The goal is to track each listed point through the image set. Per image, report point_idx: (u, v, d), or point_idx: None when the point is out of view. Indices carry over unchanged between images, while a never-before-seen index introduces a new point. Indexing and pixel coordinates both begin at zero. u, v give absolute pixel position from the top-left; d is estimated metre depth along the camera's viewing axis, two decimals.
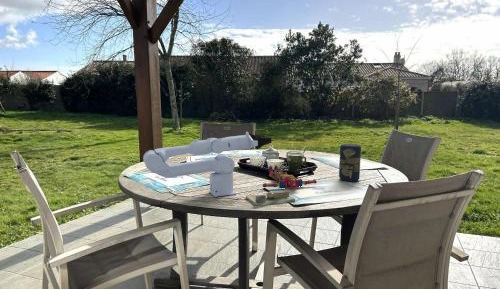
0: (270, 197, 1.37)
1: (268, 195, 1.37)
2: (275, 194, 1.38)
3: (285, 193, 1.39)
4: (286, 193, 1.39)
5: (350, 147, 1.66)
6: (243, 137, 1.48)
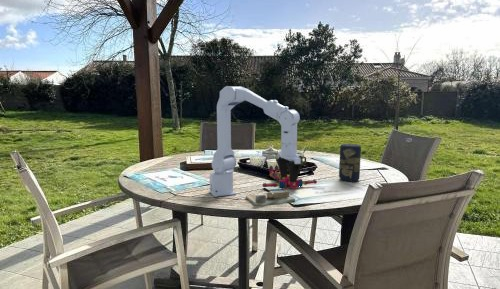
0: (270, 197, 1.37)
1: (268, 195, 1.37)
2: (275, 194, 1.38)
3: (285, 193, 1.39)
4: (286, 193, 1.39)
5: (350, 147, 1.66)
6: (296, 149, 1.32)
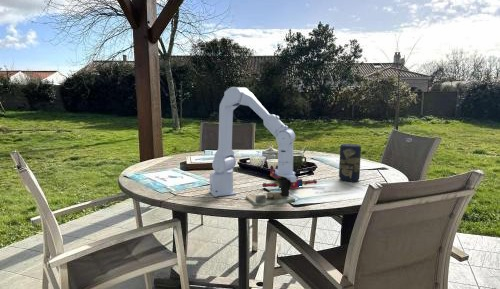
0: (270, 197, 1.37)
1: (268, 195, 1.37)
2: (275, 194, 1.38)
3: None
4: None
5: (350, 147, 1.66)
6: (292, 167, 1.36)
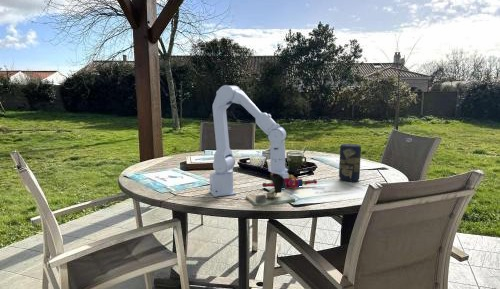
0: (273, 197, 1.37)
1: (271, 195, 1.37)
2: (273, 193, 1.40)
3: None
4: None
5: (350, 147, 1.66)
6: (284, 164, 1.40)
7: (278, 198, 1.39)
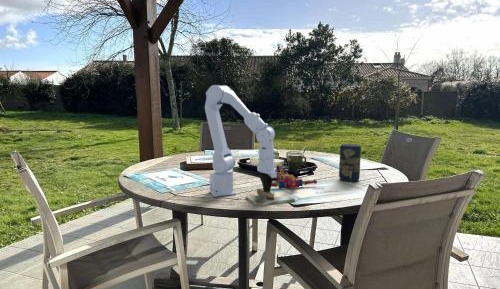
0: None
1: (273, 195, 1.38)
2: None
3: None
4: None
5: (350, 147, 1.66)
6: (273, 164, 1.41)
7: (278, 198, 1.39)
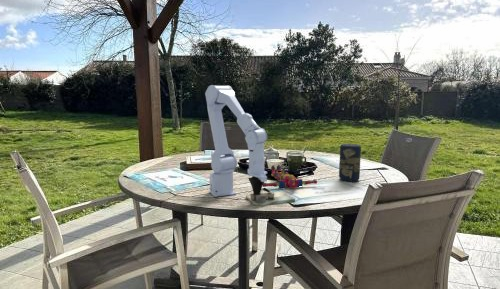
0: None
1: None
2: None
3: None
4: None
5: (350, 147, 1.66)
6: (263, 167, 1.36)
7: (278, 198, 1.39)
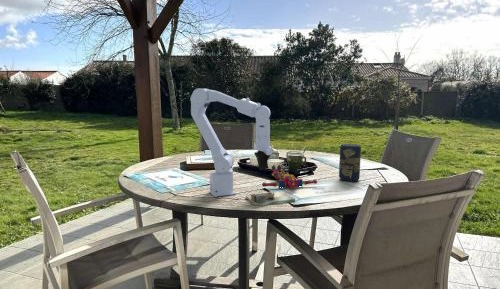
0: None
1: None
2: None
3: None
4: None
5: (350, 147, 1.66)
6: (269, 142, 1.44)
7: (278, 198, 1.39)
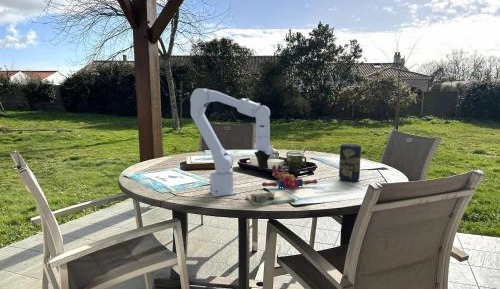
0: None
1: None
2: None
3: None
4: None
5: (350, 147, 1.66)
6: (269, 142, 1.45)
7: (278, 198, 1.39)
